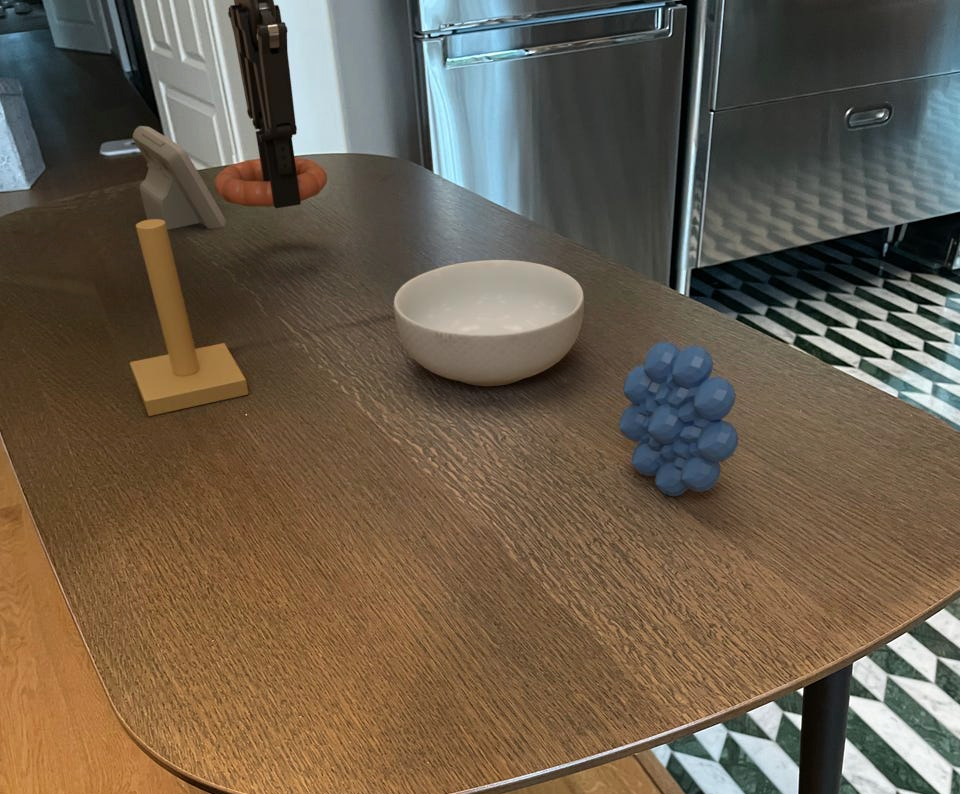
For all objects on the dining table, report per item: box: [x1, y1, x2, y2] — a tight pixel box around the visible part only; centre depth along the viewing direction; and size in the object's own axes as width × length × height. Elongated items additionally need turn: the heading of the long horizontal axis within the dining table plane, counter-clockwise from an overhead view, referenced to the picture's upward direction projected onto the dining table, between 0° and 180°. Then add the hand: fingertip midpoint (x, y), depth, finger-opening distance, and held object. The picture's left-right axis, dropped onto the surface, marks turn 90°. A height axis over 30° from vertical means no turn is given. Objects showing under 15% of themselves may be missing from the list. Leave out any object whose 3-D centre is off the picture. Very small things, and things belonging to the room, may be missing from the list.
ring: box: [213, 156, 328, 207], centre depth 109 cm, size 12×12×2 cm
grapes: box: [618, 340, 739, 497], centre depth 71 cm, size 12×7×12 cm, turn 31°
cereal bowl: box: [393, 259, 585, 387], centre depth 90 cm, size 17×17×7 cm
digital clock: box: [132, 125, 228, 231], centre depth 126 cm, size 16×9×11 cm, turn 20°
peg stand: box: [129, 219, 250, 417], centre depth 88 cm, size 9×9×14 cm
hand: (283, 200), depth 106 cm, fingers closed on ring, 3 cm apart
